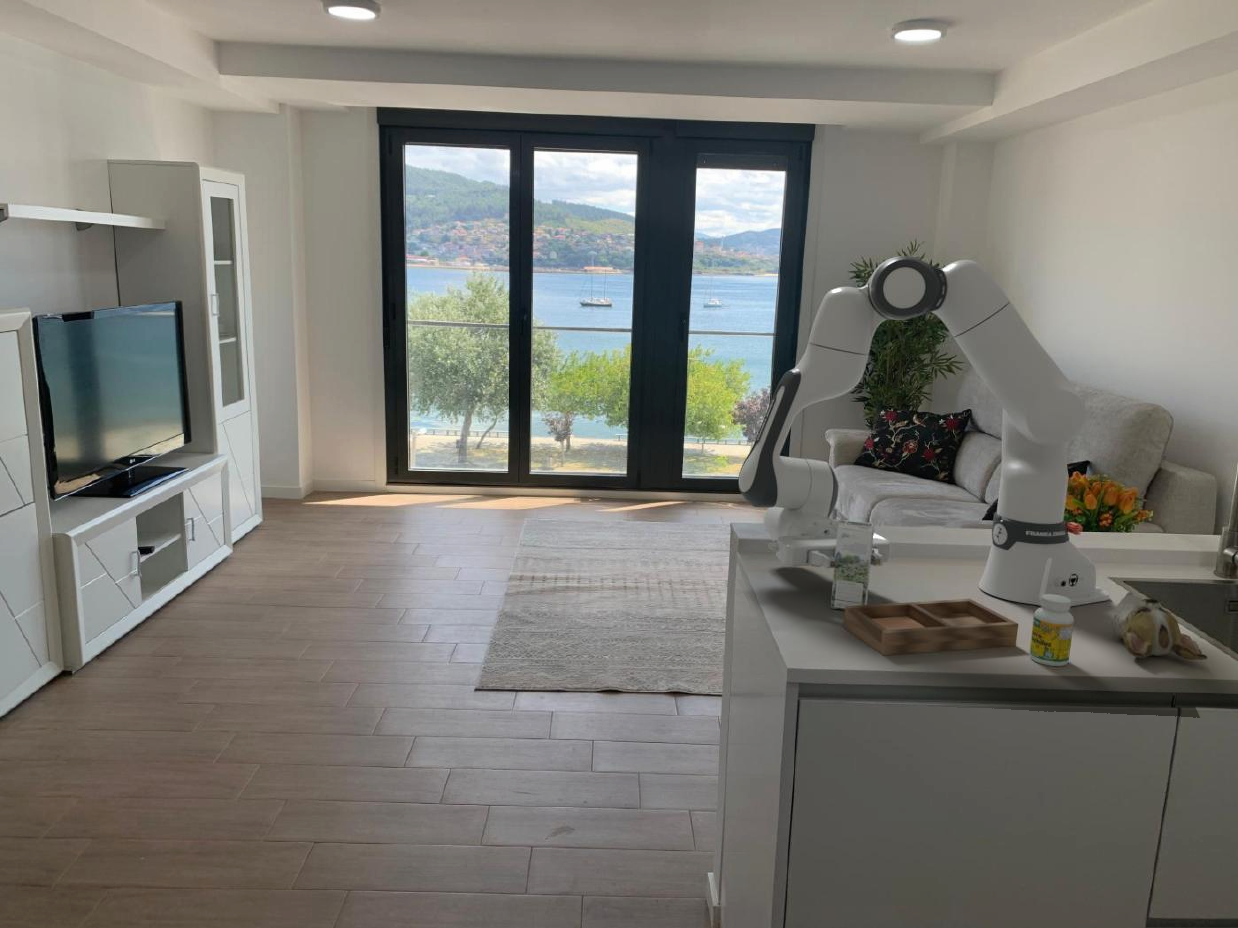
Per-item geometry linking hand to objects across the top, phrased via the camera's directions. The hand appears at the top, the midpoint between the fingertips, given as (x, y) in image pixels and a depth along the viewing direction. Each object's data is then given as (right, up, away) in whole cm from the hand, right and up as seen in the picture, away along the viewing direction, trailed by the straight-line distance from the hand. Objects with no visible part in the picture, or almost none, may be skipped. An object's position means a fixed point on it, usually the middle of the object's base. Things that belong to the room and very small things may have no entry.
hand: (855, 562), depth 160 cm
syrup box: (-1, -8, +2) cm, 8 cm away
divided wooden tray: (+9, -10, -10) cm, 17 cm away
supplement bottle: (+24, -13, -18) cm, 33 cm away
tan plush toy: (+42, -13, -13) cm, 45 cm away
